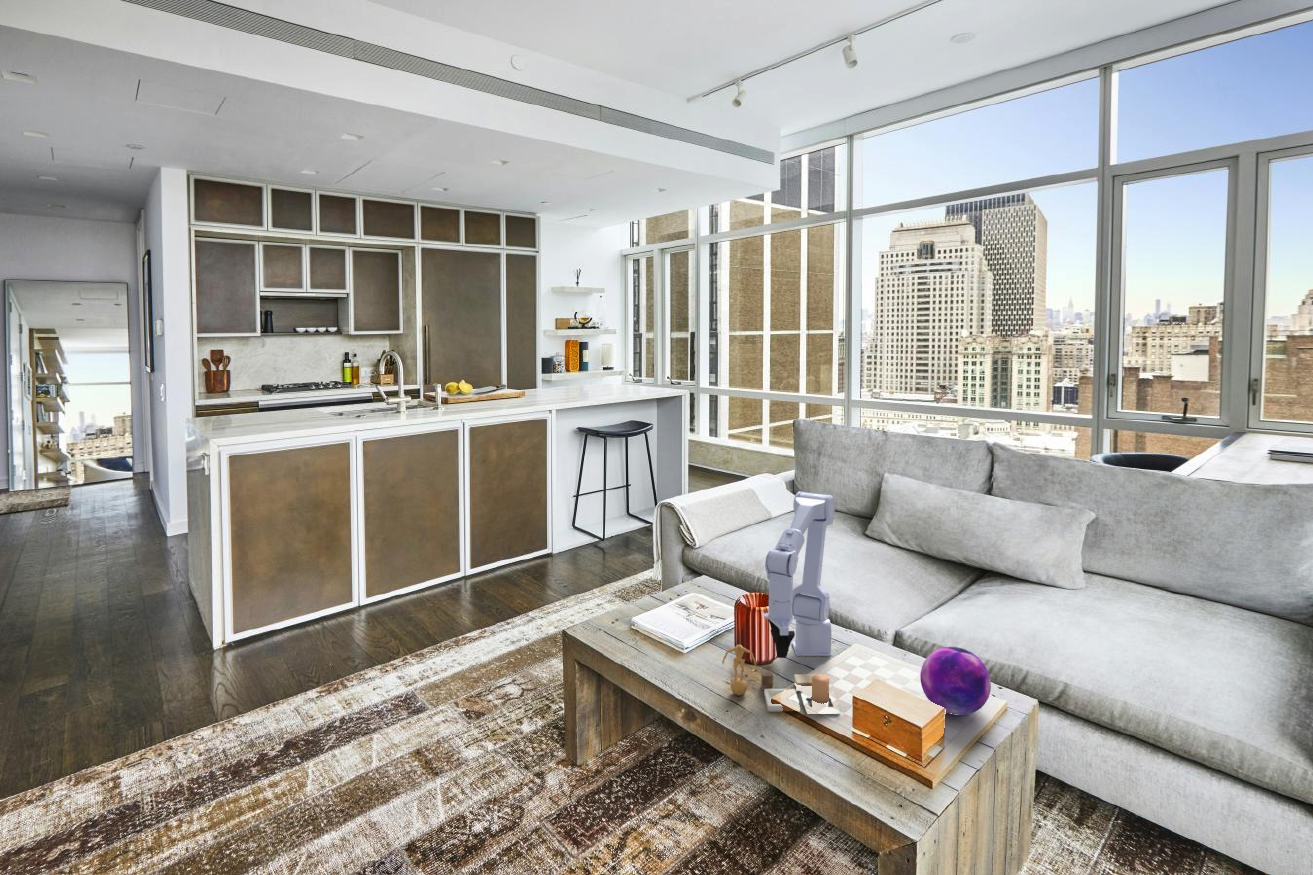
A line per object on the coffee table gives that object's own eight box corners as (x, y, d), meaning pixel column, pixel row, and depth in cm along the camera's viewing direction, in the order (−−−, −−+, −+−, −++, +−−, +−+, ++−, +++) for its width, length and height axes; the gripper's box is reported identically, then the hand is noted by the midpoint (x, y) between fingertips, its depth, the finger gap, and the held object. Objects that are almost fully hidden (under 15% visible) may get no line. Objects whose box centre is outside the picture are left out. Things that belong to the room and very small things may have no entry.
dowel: (826, 700, 168) (827, 674, 167) (830, 710, 164) (831, 682, 163) (809, 701, 169) (810, 674, 167) (813, 710, 165) (813, 682, 163)
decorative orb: (959, 736, 154) (963, 673, 151) (905, 704, 167) (907, 645, 164) (1003, 716, 161) (1007, 655, 158) (947, 686, 174) (951, 630, 171)
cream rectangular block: (822, 683, 176) (822, 674, 176) (825, 692, 172) (825, 682, 172) (794, 683, 176) (794, 674, 176) (796, 692, 172) (796, 682, 172)
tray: (795, 694, 172) (795, 688, 171) (800, 711, 164) (800, 705, 164) (764, 694, 172) (764, 688, 172) (768, 711, 164) (768, 705, 164)
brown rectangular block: (771, 685, 176) (771, 670, 175) (772, 690, 173) (772, 675, 173) (761, 685, 176) (761, 670, 175) (762, 690, 173) (762, 675, 173)
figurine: (721, 697, 171) (721, 651, 169) (722, 684, 177) (722, 640, 174) (756, 699, 170) (756, 653, 167) (756, 686, 175) (756, 641, 173)
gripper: (761, 586, 179) (760, 636, 181) (767, 610, 165) (766, 663, 167) (789, 586, 179) (788, 636, 181) (797, 610, 164) (796, 664, 167)
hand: (779, 649), depth 174 cm, fingers open, 7 cm apart
